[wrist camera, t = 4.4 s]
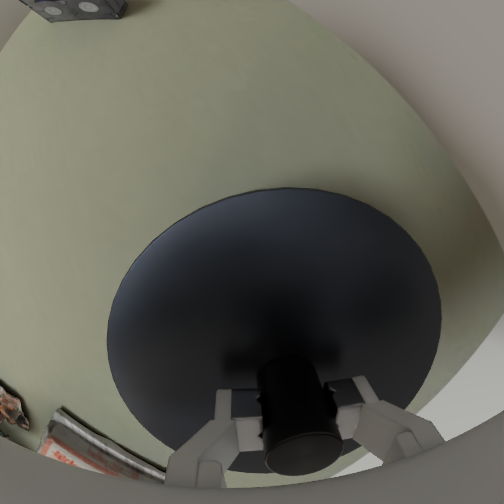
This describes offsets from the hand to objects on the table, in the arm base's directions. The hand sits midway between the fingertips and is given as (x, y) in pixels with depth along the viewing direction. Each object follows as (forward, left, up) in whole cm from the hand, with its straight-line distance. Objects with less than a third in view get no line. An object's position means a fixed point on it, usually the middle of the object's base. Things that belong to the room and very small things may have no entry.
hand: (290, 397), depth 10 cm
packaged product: (+19, +23, -11) cm, 32 cm away
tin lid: (0, 0, -2) cm, 2 cm away
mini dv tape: (+14, -24, -11) cm, 30 cm away
